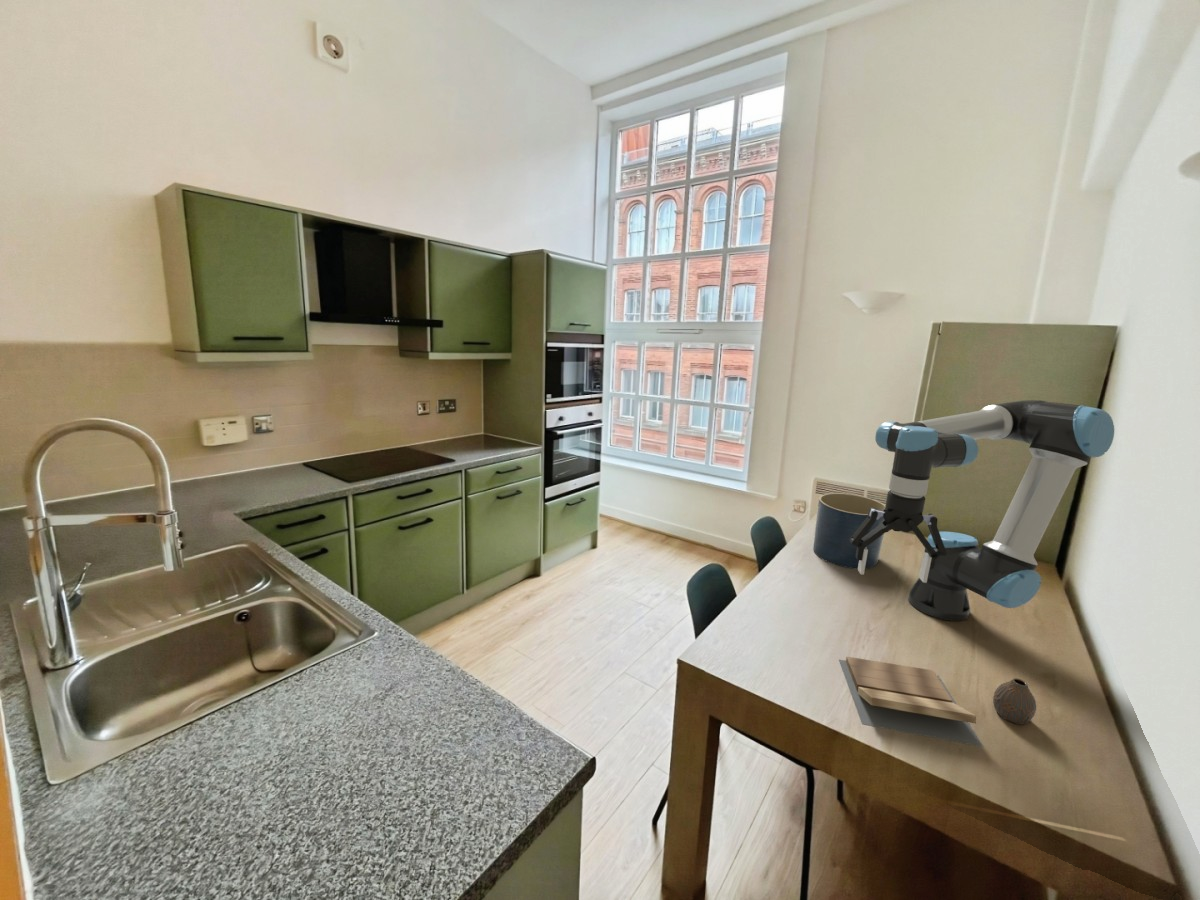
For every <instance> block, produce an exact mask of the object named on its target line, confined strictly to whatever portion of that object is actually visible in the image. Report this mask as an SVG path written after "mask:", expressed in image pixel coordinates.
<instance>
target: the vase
mask: <svg viewBox="0 0 1200 900" xmlns="http://www.w3.org/2000/svg"><path fill="white" fill-rule="evenodd" d="M992 703H993V707H994V709H995V711H996V712H997V714H998V715H999V716H1000V717H1002V718H1003V719H1004V720H1006V721H1008V722H1010V723H1013V724H1016V725H1017V724H1018V725H1022V724H1023V725H1024V724H1027V723H1030V721H1031V720H1033V718H1034V717H1035V714H1036V712H1037V701H1036V699H1035V696H1034V694H1033V693H1032V692H1031V690H1030V688H1029V685H1028V683H1027V682H1025V681H1024V680H1022V679H1020V678H1016V677H1015V678H1014V677H1013V678H1012V679H1011V680H1009V681H1006V682H1003V683H1001V684H1000V685H998V686H997V687H996V689H995V690H994V693H993V697H992Z"/></svg>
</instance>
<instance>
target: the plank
mask: <svg viewBox="0 0 1200 900" xmlns="http://www.w3.org/2000/svg"><path fill="white" fill-rule="evenodd" d="M858 694H859V695H860V696H861V697H862V698H864V699H865V700H866V701H867V702H868V703H869V704H871V705H874V706H879V707H885V708H891V709H896V710H902V711H907V712H913V713H919V714H924V715H930V716H936V717H941V718H947V719H952V720H958V721H964V722H968V723H969V724H970V723H971V724H977V715H976V714H974V713H972V712H971V711H968V710H967V709H965V708H963V707H962V706H960V705H958V704H957V703H956V704H957V705H956V704H954V703H951V702H945V701H939V700H933V699H927V698H921V697H916V696H910V695H904V694H898V693H892V692H886V691H880V690H875V689H869V688H863V687H858Z"/></svg>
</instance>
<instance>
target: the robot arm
mask: <svg viewBox="0 0 1200 900" xmlns="http://www.w3.org/2000/svg"><path fill="white" fill-rule="evenodd" d="M874 438H875V443H876V445H877V446H878V447H879V448H881V449H883V450H886V451H888V452H891V453H894V458H893V463H892V469H891V474H890V479H889V484H888V489H889V491H887V496H886V501H885V505H886V506H885V509H884V511H878V510H875V509H874V508H871V509H870V510H869V513H868V516H867V517H866V519H865V520H864V521H863V522H862V524H861V525H860V526H859V527H858V529H857V530H856V531H855V532H854V534H853V535H852V536H851V537H850V541H851V543H852V545H854V546H857V550H856V558H857V560H859V564H858V569H857V571H858V573H859V574H860V575H865V569H866V568H865V565H866V559H867V554H868V549H867V548H866V547H867V546H868V545H869V544H871V543H872V542H873V541H875V540H876V539H877V538H879V537H880V536H881V535H883V534H884V535H885V533H889V532H890V531H891V530H893V531H894V532H903V533H910V532H913V534H914V535H915V537H916V538H917V539H918V540H919V542H920V544H922V546H923V547H924V552H923V554H922V559H921V564H920V569H919V573H918V579H917V580H916V581H915V583H914V584H913V586H912V587H911V588H910V590H909V591H908V596H907V597H908V598H907V600H908V602H909V603H910V605H912V606H913V608H915V609H917V610H918V611H920V612H922V613H924V614H926V615H928V616H930V617H934V618H937V619H940V620H944V621H945V620H946V621H950V622H951V621H953V622H954V621H956V622H960V621H965V620H967V619H968V618H969V616H970V611H971V606H970V600H969V593H968V590H969V591H971V592H973V593H974V594H977V595H978V596H980V597H983V598H985V599H986V600H987V601H989V602H991V603H993V604H997V605H998V606H1001V607H1002V608H1005V609H1016V608H1019V607H1021V606H1023V605H1026V604H1027V603H1028V602H1030V601H1031V600H1032V599H1033V598H1034V597H1035V596H1036V594H1037V593H1038V591H1039V590H1040V588H1041V585H1042V582H1041V581H1042V577H1041V575H1040V573H1038V572H1037V571H1036V568H1037V566H1038V562H1037V560H1036V558H1035V556H1034V555H1035V552H1036V551H1037V549H1038V547H1039V544H1040V543H1041V541H1042V538H1043V536H1044V534H1045V533H1046V530H1047V528H1048V527H1049V524H1050V523H1051V520H1052V518H1053V516H1054V514H1055V512H1056V510H1057V508H1058V506H1059V504H1060V502H1061V500H1062V497H1063V496H1064V494H1065V492H1066V490H1067V487H1068V486H1069V484H1070V482H1071V479H1072V478H1073V475H1074V473H1075V472H1076V470H1077V469H1078V468H1081V467H1084V466H1087V465H1088V464H1089V461H1090V459H1091V458H1093V459H1094V458H1099V457H1102V456H1103V455H1105V453H1107V452H1108V451H1110V450H1109V449H1110V448H1111V446H1112V444H1113V441H1114V438H1115V424H1114V421H1113V418H1112V416H1111V415H1110V413H1108V412H1107V411H1105V410H1103V409H1100V408H1096V407H1091V406H1086V405H1083V404H1081V405H1079V404H1070V403H1063V402H1062V403H1061V402H1054V401H1047V400H1041V399H1040V400H1039V399H1027V400H1025V399H1024V400H1017V401H1008V402H1002V403H997V404H991V405H987V406H984V407H983V408H981V409H980V410H977V411H972V412H966V413H965V412H964V413H959V414H953V415H948V416H942V417H937V418H931V419H925V420H919V421H912V422H905V423H902V422H901V423H900V422H898V421H890V420H889V421H885V422H883V423H882V424H879V426H878V428H877V429H876V432H875V437H874ZM983 439H988V440H993V441H997V440H1011V441H1017V442H1020V443H1021V442H1022V443H1027V444H1030V445H1029V447H1028V451H1029V453H1030V454H1031V456H1032V457H1031V460H1030V462H1029V464H1028V466H1027V468H1026V470H1025V473H1024V475H1023V477H1022V479H1021V480H1020V483H1019V485H1018V488H1017V489H1016V491H1015V494H1014V496H1013V497H1012V499H1011V502H1010V504H1009V506H1008V508H1007V509H1006V512H1005V515H1004V517H1002V518H1003V519H1002V520H1001V523H1000V525H999V527H998V529H997V531H996V533H995V534H994V538H993V539H992V540H989V541H987V542H984V543H983V544H982V546H981V548H980V547H979V541H978V539H977V538H976V537H974V536H972V535H969V534H965V533H961V532H953V531H940V530H939V529H938V518H937V517H936V516H935V515H934V514H933V513H928V514H927V515H926V514H925V515H924V514H923V513H924V508H925V503H926V497H925V496H927V493H928V488H929V482H930V477H931V472H932V469H934V468H935V469H936V468H948V467H949V468H952V467H953V468H958V467H962V466H967V465H970V464H972V463H973V462H974V461H975V460H976V459H977V457H978V453H979V446H978V444H977V440H983ZM880 517H883V518H884V520H883V521H882V522H881V523H880V524H879V525H878V526H877V527H876V528H874V529H873V530H872V531H870V532H869V533H868V534H866V533H867V532H868V530H869V529H870V528H871V527H872V525H873V524H874V523H875V521H876V520H877V519H879V518H880ZM923 522H924V523H925V524H926V525H927V528H928V530H929V533H930V534H929V535H928V536H927V538H926V536H925V535H924V534H923V532H922V531H921V529H920V528H919V527H918V526H919V525H921V523H923ZM865 534H866V535H865ZM864 535H865V536H864Z"/></svg>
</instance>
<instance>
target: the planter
mask: <svg viewBox="0 0 1200 900" xmlns="http://www.w3.org/2000/svg"><path fill="white" fill-rule="evenodd" d="M885 506H886V504H884V503H882V502H880V501H878V500H876V499H874V498H873V499H872V498H870V497H866V496H862V495H858V494H851V493H842V492H841V493H839V492H838V493H837V492H836V493H835V492H834V493H832V492H831V493H825V494H822V495H820V496H819V498H818V504H817V512H816V520H815V521H816V522H815V529H814V538H813V552H814V554H815V555H816V556H817V557H819V558H820V559H822V560H823V561H825V562H827V563H831V564H832V565H836V566H839V567H844V568H848V569H849V568H850V569H857V570H858V564H859V560H857V558H856V550H857V546H854V545H852V543H851V541H850V537H851V536H852V535H853V534H854V532H855V531H856V530H857V529H858V527H859V526H860V525H861V524H862V522H863V521H864V520H865V519H866V517H867V516H868V513H869V510H870V509H871V508H874V509H875V510H878V511H884V509H885ZM883 520H884V518H883V517H880V518H879V519H877V520H876V521H875V523H874V524H873V525H872V527H871V528H870V529H869V530H868V532H867V533H866V534H868V533H869V532H870V531H872V530H873V529H874V528H876V527H877V526H878V525H879V524H880V523H881V522H882V521H883ZM866 534H865V535H866ZM865 535H864V536H865ZM884 536H885V533H884V534H883V535H881V536H880V537H879V538H877V539H876V540H875V541H873V542H872V543H871V544H869V545H868V546H867V547H866V548H867V549H868V554H867V559H866V565H865V569H870V568H873V567H875V566H877V565H878V562H879V558H880V553H881V549H882V545H883V540H884Z"/></svg>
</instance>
